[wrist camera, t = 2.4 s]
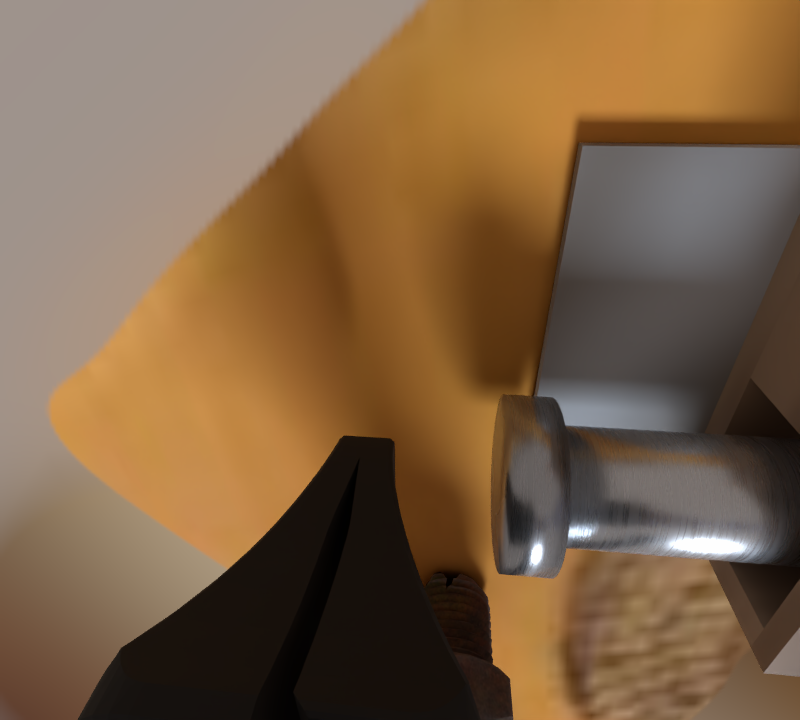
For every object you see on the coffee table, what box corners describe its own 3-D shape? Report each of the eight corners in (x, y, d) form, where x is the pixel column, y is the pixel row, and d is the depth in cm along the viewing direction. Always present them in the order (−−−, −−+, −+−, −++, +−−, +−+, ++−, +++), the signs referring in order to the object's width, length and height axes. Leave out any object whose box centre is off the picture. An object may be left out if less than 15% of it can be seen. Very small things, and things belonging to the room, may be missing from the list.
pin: (893, 380, 12) (1077, 523, 9) (814, 500, 15) (932, 652, 11) (502, 361, 13) (520, 484, 10) (488, 477, 16) (497, 612, 12)
